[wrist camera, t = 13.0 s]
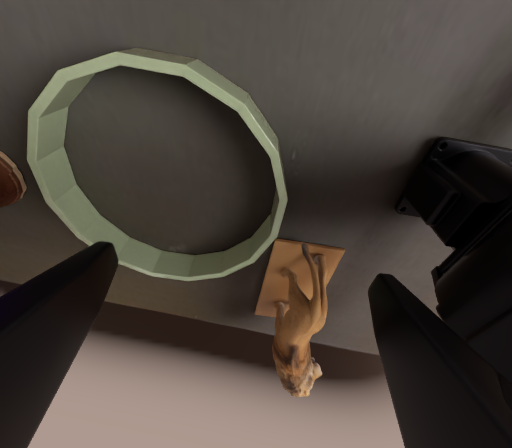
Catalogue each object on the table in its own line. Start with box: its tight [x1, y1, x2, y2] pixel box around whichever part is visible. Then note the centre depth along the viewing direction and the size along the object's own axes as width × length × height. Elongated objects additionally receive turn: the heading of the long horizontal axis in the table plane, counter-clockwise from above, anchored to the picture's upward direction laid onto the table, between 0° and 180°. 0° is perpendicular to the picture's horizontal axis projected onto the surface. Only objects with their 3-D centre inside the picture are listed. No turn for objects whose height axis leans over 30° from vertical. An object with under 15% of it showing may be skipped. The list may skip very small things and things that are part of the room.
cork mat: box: [255, 238, 345, 317], centre depth 29 cm, size 7×13×1 cm, turn 171°
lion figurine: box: [272, 243, 327, 397], centre depth 25 cm, size 15×5×9 cm, turn 2°
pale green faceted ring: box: [27, 48, 288, 281], centre depth 20 cm, size 18×18×3 cm
